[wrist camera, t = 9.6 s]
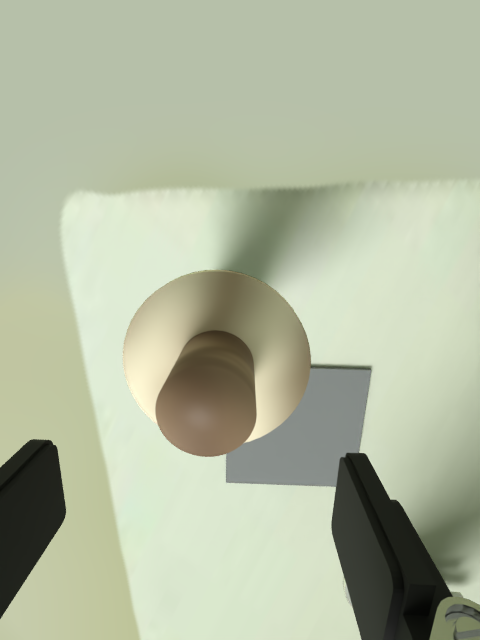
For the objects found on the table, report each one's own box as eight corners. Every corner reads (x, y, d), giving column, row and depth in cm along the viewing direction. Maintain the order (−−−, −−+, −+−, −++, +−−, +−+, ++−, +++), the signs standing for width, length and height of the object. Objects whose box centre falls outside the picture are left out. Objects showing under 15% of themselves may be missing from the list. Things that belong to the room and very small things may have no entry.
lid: (314, 271, 18) (347, 290, 12) (301, 438, 21) (321, 518, 15) (121, 267, 18) (62, 285, 12) (135, 434, 21) (93, 511, 15)
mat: (369, 368, 36) (371, 370, 35) (352, 484, 40) (353, 487, 40) (228, 364, 36) (228, 365, 35) (226, 480, 40) (226, 482, 40)
